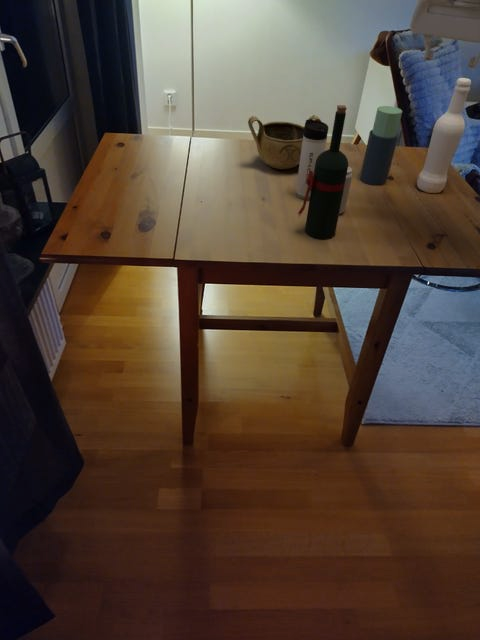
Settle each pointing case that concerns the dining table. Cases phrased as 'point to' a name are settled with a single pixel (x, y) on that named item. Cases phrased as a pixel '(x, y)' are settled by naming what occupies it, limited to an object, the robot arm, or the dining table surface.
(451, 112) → the bottle
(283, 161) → the ceramic bowl
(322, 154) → the wine bottle
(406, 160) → the dining table surface
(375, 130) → the paper cup
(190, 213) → the dining table surface
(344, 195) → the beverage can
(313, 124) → the travel mug
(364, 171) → the water bottle
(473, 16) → the robot arm
